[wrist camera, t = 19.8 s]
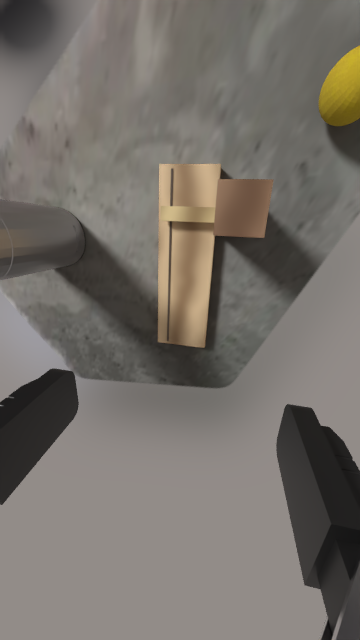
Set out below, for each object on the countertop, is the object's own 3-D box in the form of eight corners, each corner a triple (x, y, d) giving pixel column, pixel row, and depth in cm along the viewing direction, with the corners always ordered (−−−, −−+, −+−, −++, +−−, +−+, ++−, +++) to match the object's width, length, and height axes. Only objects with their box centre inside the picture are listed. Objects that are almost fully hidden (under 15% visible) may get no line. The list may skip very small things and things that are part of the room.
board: (161, 337, 42) (157, 342, 40) (163, 167, 33) (159, 164, 31) (205, 342, 41) (204, 348, 39) (221, 167, 32) (220, 163, 30)
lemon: (313, 145, 29) (341, 115, 22) (305, 91, 27) (333, 40, 20) (365, 124, 27) (414, 85, 20) (360, 66, 26) (412, 1, 19)
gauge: (167, 231, 36) (132, 231, 23) (167, 198, 34) (131, 178, 21) (250, 235, 34) (264, 237, 21) (255, 200, 32) (273, 179, 19)
